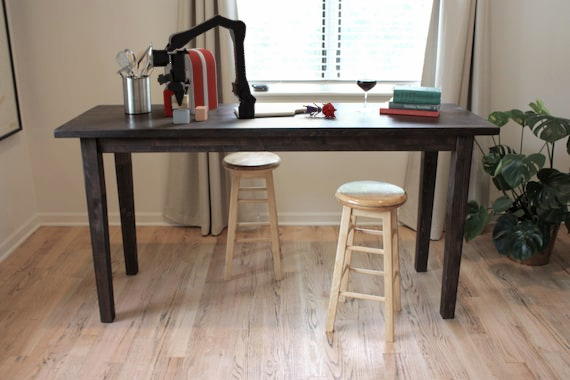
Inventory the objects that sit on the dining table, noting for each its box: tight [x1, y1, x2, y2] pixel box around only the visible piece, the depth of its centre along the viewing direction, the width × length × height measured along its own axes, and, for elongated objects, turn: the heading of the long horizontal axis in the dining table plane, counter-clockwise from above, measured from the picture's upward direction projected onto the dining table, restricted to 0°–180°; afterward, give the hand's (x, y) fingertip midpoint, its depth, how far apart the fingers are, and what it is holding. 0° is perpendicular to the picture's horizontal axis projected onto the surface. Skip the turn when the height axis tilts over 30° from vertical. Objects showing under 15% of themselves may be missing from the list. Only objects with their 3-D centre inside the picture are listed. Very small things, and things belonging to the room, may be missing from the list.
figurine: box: [303, 102, 338, 119], centre depth 256 cm, size 6×8×15 cm
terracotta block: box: [194, 106, 208, 122], centre depth 256 cm, size 6×4×5 cm, turn 178°
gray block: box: [172, 110, 191, 124], centre depth 249 cm, size 6×4×5 cm, turn 88°
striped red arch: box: [163, 47, 219, 115], centre depth 277 cm, size 16×18×27 cm
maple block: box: [172, 95, 189, 109], centre depth 248 cm, size 6×4×5 cm, turn 88°
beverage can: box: [162, 87, 180, 118], centre depth 264 cm, size 7×7×12 cm
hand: (180, 105), depth 248 cm, fingers closed on maple block, 4 cm apart
